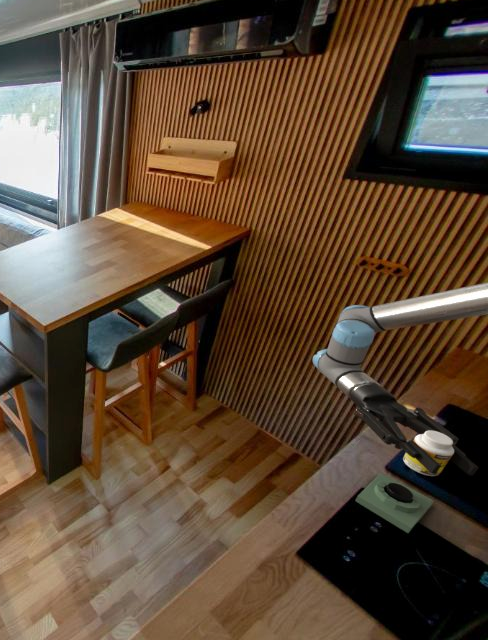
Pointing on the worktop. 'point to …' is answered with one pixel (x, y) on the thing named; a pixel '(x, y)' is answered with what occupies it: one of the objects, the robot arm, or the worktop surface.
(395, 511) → the button box
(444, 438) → the supplement bottle
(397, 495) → the button
